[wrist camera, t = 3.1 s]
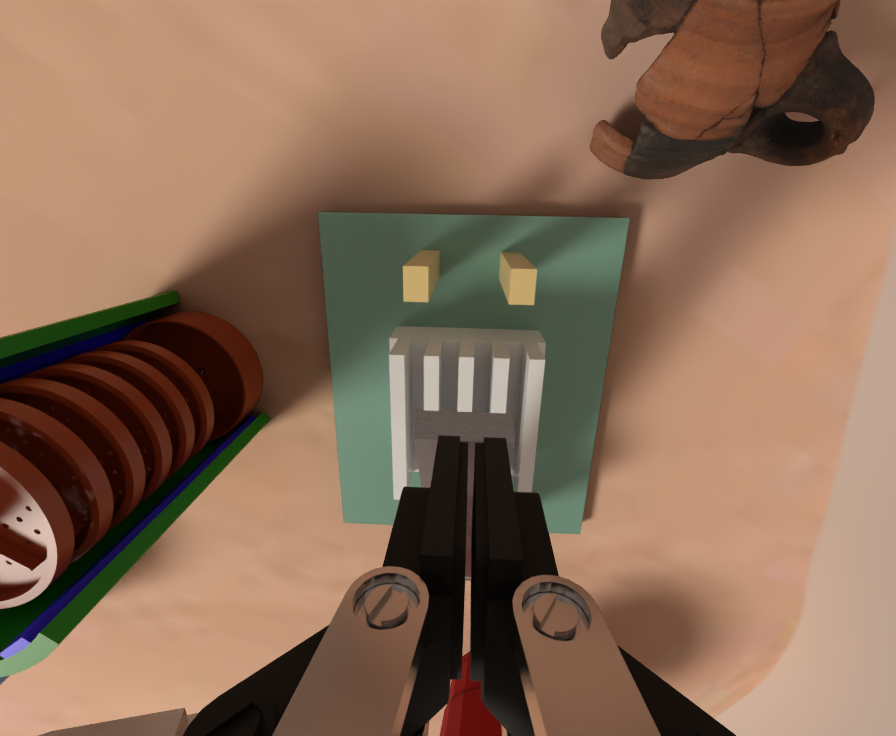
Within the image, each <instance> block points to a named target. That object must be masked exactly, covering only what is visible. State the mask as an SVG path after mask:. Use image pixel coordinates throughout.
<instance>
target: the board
mask: <svg viewBox="0 0 896 736" xmlns="http://www.w3.org/2000/svg"><path fill="white" fill-rule="evenodd" d="M629 219H630V218H616V217H565V216H513V215H462V214H410V213H359V212H318V221H319V233H320V245H321V257H322V268H323V280H324V292H325V304H326V316H327V328H328V340H329V352H330V364H331V376H332V388H333V400H334V412H335V424H336V436H337V448H338V460H339V471H340V483H341V495H342V507H343V519H344V523H362V524H382V525H393V524H394V520H395V516H396V512H397V509H398V505H399V501H400V497H401V493H402V490H403V487H421V481H420V475H419V469H418V463H417V457H416V451H415V445H414V430H415V421H416V412H417V410H429V411H455V412H481V413H507V414H513V419H514V442H515V443H514V447H513V451H512V456H511V460H510V469H511V476H512V483H513V490H514V492H533V493H539V495H540V498H541V502H542V507H543V511H544V515H545V519H546V524H547V528H548V532H549V533H563V534H580V532H581V525H582V519H583V513H584V506H585V500H586V493H587V487H588V481H589V474H590V468H591V461H592V455H593V449H594V442H595V436H596V430H597V423H598V417H599V410H600V404H601V398H602V391H603V385H604V378H605V372H606V366H607V359H608V353H609V347H610V340H611V334H612V327H613V321H614V315H615V308H616V302H617V296H618V289H619V283H620V276H621V270H622V264H623V257H624V251H625V244H626V238H627V232H628V225H629Z"/></svg>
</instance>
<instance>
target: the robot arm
mask: <svg viewBox="0 0 896 736" xmlns="http://www.w3.org/2000/svg"><path fill="white" fill-rule="evenodd" d="M467 483H468V442H460V436H443V435H438V441H437V447H436V454H435V460H434V467H433V473H432V479H431V486H430V488H426V487H403V490H402V493H401V497H400V501H399V505H398V509H397V512H396V516H395V520H394V524H393V528H392V532H391V536H390V540H389V544H388V548H387V552H386V556H385V560H384V563H383V567H381V568H376V569H373V570H371V571H369V572H367V573H365V574H363V575H362V576H360V577H359V578H358V579H357V580H355V581H354V582H353V584H352V585H351V586H350V588H349V589H348V590H347V592H346V594H345V596H344V598H343V600H342V602H341V604H340V605H339V607H338V609H337V611H336V613H335V615H334V617H333V619H332V621H331V623H330V625H328V626H327V627H325V628H324V629H322V630H321V631H319V632H317V633H316V634H314V635H313V636H311V637H310V638H308V639H307V640H305V641H304V642H302V643H300V644H299V645H297V646H296V647H294V648H293V649H291V650H290V651H288V652H287V653H285V654H283V655H282V656H280V657H279V658H277V659H276V660H274V661H273V662H271V663H270V664H268V665H266V666H265V667H263V668H262V669H260V670H259V671H257V672H256V673H254V674H253V675H251V676H249V677H248V678H246V679H245V680H243V681H242V682H240V683H239V684H237V685H236V686H234V687H232V688H231V689H229V690H228V691H226V692H225V693H223V694H222V695H220V696H219V697H217V698H216V699H215V700H213V701H212V702H211V703H210V704H208V705H207V706H206V707H205V708H203V709H202V710H201V711H200V712H199V713H196V714H191V715H187V714H186V710H185V708H181V709H175V710H169V711H164V712H158V713H152V714H147V715H141V716H135V717H130V718H124V719H118V720H113V721H107V722H101V723H96V724H90V725H84V726H79V727H73V728H67V729H62V730H56V731H51V732H48V733H45V734H42V735H39V736H428V728H429V720H430V719H431V718H432V717H433V716H434V715H435V714H436V713H438V712H439V711H440V710H441V709H442V708H443V707H444V706H445V705H446V704H447V703H448V699H449V695H450V679H454V680H461V675H462V648H463V621H464V594H465V566H466V528H467ZM470 681H481V702H484V705H485V707H486V708H487V709H488V710H489V711H490V712H491V713H492V714H493V716H494V717H495V718H496V719H497V720H498V721H499V722H500V723H501V724H502V725H501V727H502V736H736V735H735V734H734V733H732V732H731V731H730V730H728V729H727V728H725V727H724V726H723V725H722V724H720V723H719V722H718V721H716V720H715V719H714V718H712V717H711V716H710V715H708V714H707V713H706V712H705V711H703V710H702V709H701V708H699V707H698V706H697V705H695V704H694V703H693V702H691V701H690V700H689V699H687V698H686V697H685V696H683V695H682V694H681V693H680V692H678V691H677V690H676V689H674V688H673V687H672V686H670V685H669V684H668V683H666V682H665V681H664V680H662V679H661V678H660V677H658V676H657V675H656V674H654V673H653V672H652V671H651V670H649V669H648V668H647V667H645V666H644V665H643V664H641V663H640V662H639V661H637V660H636V659H635V658H633V657H632V656H631V655H629V654H628V653H627V652H625V651H624V650H623V649H622V648H620V647H619V646H618V645H617V644H616V642H615V640H614V638H613V636H612V634H611V632H610V630H609V628H608V626H607V624H606V622H605V620H604V618H603V616H602V614H601V611H600V609H599V607H598V606H597V604H596V603H595V601H594V600H593V598H592V597H591V595H590V594H589V593H588V592H586V591H585V590H584V589H583V588H582V587H581V586H579V585H578V584H576V583H574V582H572V581H570V580H569V579H565V578H562V577H559V575H558V571H557V567H556V562H555V558H554V554H553V549H552V545H551V541H550V537H549V532H548V528H547V524H546V519H545V515H544V511H543V507H542V502H541V498H540V495H539V493H533V492H514V490H513V483H512V476H511V469H510V462H509V455H508V448H507V441H506V438H492V437H484V443H475V458H474V483H473V507H472V531H471V635H470Z"/></svg>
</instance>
